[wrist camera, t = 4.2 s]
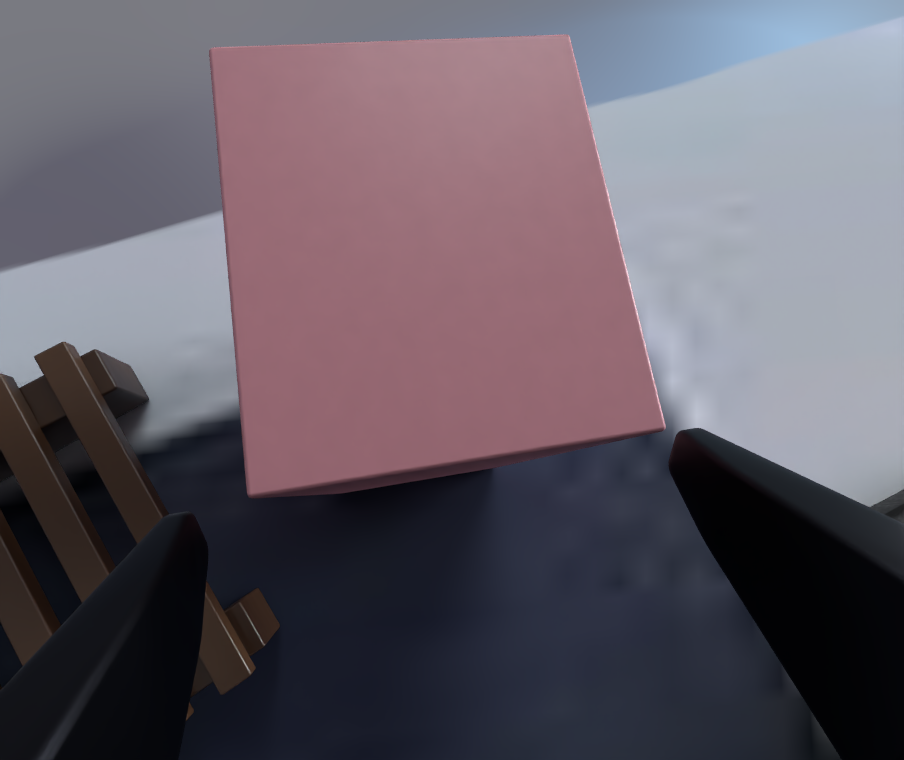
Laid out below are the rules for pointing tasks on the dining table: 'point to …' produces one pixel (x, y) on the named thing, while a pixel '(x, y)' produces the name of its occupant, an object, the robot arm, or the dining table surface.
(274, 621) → the rack
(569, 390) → the box
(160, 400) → the dining table surface
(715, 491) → the robot arm
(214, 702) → the dining table surface
